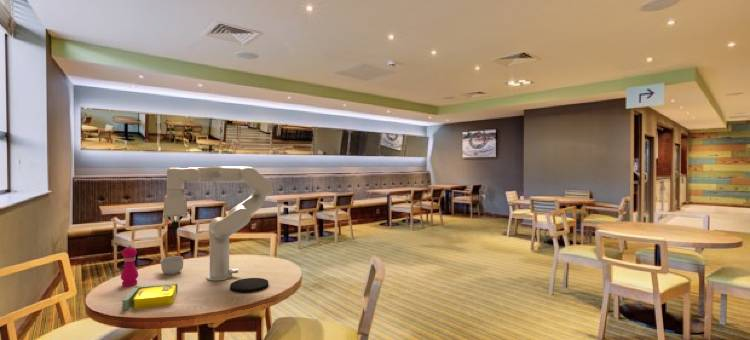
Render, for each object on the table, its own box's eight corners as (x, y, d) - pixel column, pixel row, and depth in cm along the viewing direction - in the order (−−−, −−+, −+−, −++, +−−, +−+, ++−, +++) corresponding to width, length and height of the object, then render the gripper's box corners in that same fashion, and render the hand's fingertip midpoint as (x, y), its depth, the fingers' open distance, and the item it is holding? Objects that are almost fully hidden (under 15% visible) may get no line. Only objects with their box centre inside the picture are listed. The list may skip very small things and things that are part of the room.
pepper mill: (129, 287, 182) (129, 246, 181) (117, 286, 183) (116, 245, 183) (141, 282, 189) (141, 243, 188) (129, 281, 190) (129, 242, 190)
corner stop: (177, 291, 177) (177, 283, 177) (169, 305, 160) (169, 296, 160) (135, 295, 171) (135, 286, 171) (122, 310, 154) (122, 300, 154)
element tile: (138, 298, 169) (138, 287, 169) (176, 293, 175) (176, 283, 175) (131, 310, 155) (131, 298, 155) (173, 305, 161) (173, 294, 161)
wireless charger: (266, 292, 177) (266, 288, 177) (226, 294, 174) (226, 290, 174) (270, 280, 195) (270, 277, 195) (233, 282, 192) (233, 278, 192)
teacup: (187, 272, 208) (187, 257, 207) (167, 277, 198) (167, 262, 198) (173, 268, 215) (173, 254, 215) (153, 272, 206) (153, 258, 206)
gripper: (193, 191, 193) (193, 227, 193) (159, 192, 188) (159, 229, 188) (191, 193, 186) (191, 230, 186) (156, 193, 181) (156, 231, 181)
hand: (175, 229), depth 187 cm, fingers closed
